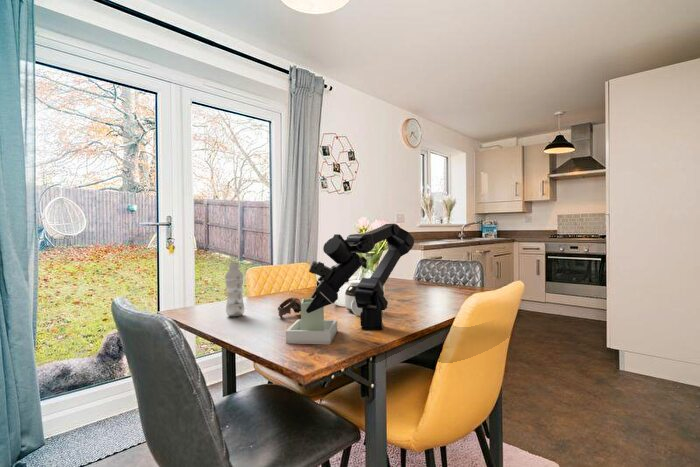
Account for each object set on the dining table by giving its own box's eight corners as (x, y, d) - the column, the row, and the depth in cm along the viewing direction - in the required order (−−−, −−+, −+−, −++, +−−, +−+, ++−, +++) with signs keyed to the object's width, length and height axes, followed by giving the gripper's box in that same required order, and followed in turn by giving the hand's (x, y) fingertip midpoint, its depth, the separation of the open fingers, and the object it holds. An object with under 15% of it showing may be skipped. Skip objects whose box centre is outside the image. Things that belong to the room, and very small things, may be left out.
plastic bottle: (241, 318, 129) (240, 263, 129) (223, 318, 129) (221, 263, 129) (247, 314, 136) (245, 261, 135) (229, 314, 136) (228, 262, 135)
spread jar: (361, 307, 143) (361, 278, 143) (381, 312, 134) (381, 281, 134) (338, 312, 135) (337, 282, 135) (357, 318, 126) (357, 285, 126)
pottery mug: (307, 321, 124) (294, 303, 123) (284, 333, 126) (271, 314, 124) (311, 305, 136) (300, 288, 134) (290, 316, 138) (279, 299, 136)
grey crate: (337, 331, 111) (337, 319, 111) (330, 344, 98) (329, 331, 98) (298, 330, 112) (297, 319, 112) (286, 343, 100) (285, 330, 100)
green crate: (323, 330, 109) (323, 298, 109) (324, 336, 102) (323, 302, 102) (302, 331, 108) (301, 298, 108) (301, 337, 102) (300, 303, 102)
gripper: (324, 249, 114) (290, 284, 114) (324, 253, 96) (284, 295, 95) (349, 273, 115) (315, 308, 114) (354, 281, 97) (314, 323, 96)
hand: (307, 308), depth 105 cm, fingers open, 9 cm apart
